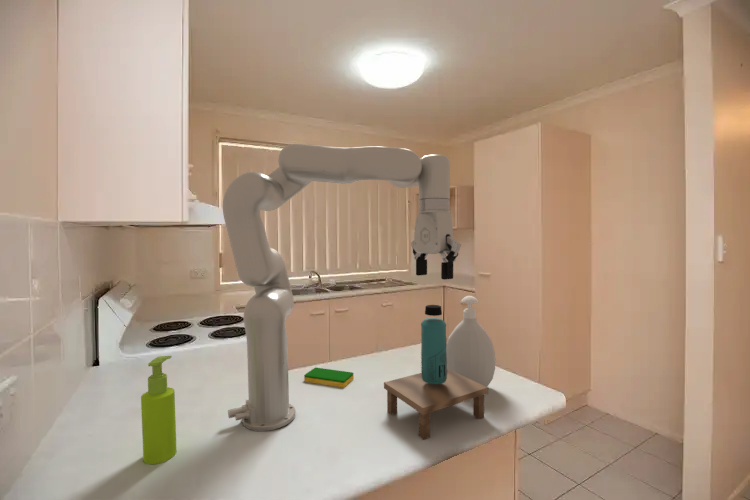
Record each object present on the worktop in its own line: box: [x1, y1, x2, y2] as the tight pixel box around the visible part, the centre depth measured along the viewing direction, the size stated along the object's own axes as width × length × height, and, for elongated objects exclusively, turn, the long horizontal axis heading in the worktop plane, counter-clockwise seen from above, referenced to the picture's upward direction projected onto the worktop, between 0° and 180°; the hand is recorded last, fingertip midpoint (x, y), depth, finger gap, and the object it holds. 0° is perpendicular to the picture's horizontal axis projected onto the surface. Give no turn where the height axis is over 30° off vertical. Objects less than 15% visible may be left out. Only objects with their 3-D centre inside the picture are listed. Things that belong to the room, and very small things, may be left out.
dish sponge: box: [303, 367, 355, 388], centre depth 113 cm, size 7×14×2 cm, turn 69°
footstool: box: [383, 369, 489, 440], centre depth 90 cm, size 20×16×8 cm
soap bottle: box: [446, 295, 496, 387], centre depth 107 cm, size 14×8×27 cm, turn 77°
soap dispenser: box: [140, 355, 177, 465], centre depth 75 cm, size 6×7×20 cm
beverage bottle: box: [420, 304, 447, 384], centre depth 90 cm, size 6×7×20 cm
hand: (433, 277), depth 89 cm, fingers open, 9 cm apart
